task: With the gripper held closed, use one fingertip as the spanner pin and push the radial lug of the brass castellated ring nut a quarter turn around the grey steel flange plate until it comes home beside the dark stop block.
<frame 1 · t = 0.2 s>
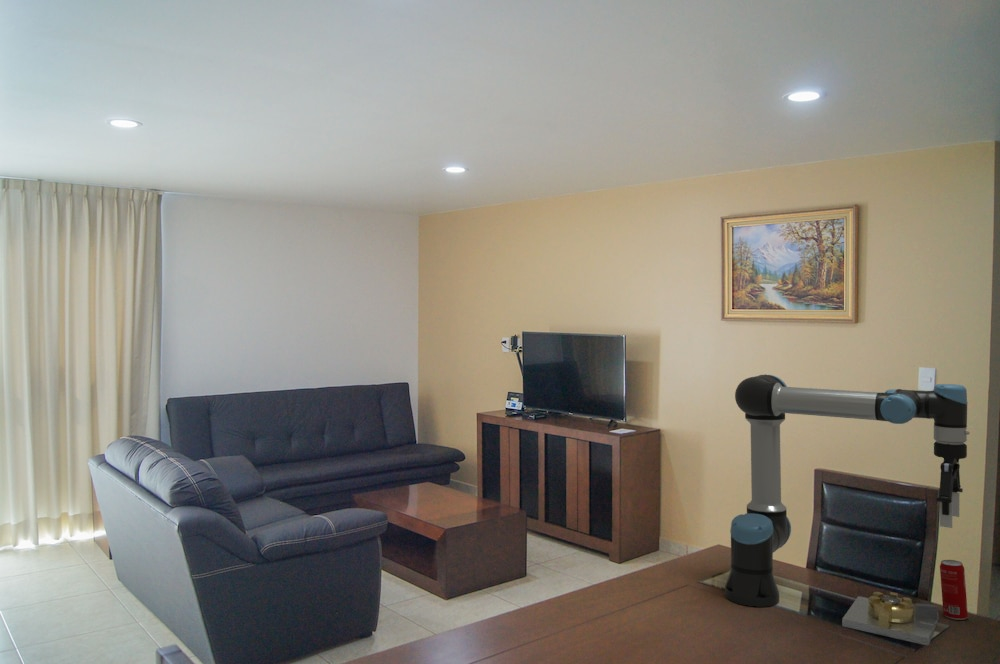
hand: (949, 521, 196), 28 cm above the table, fingers open, 13 cm apart
beverage can: (953, 617, 201), on the table
flange plate: (890, 622, 197), on the table
ring nut: (889, 609, 194), point 4 cm above the table, hinge at 0.0°
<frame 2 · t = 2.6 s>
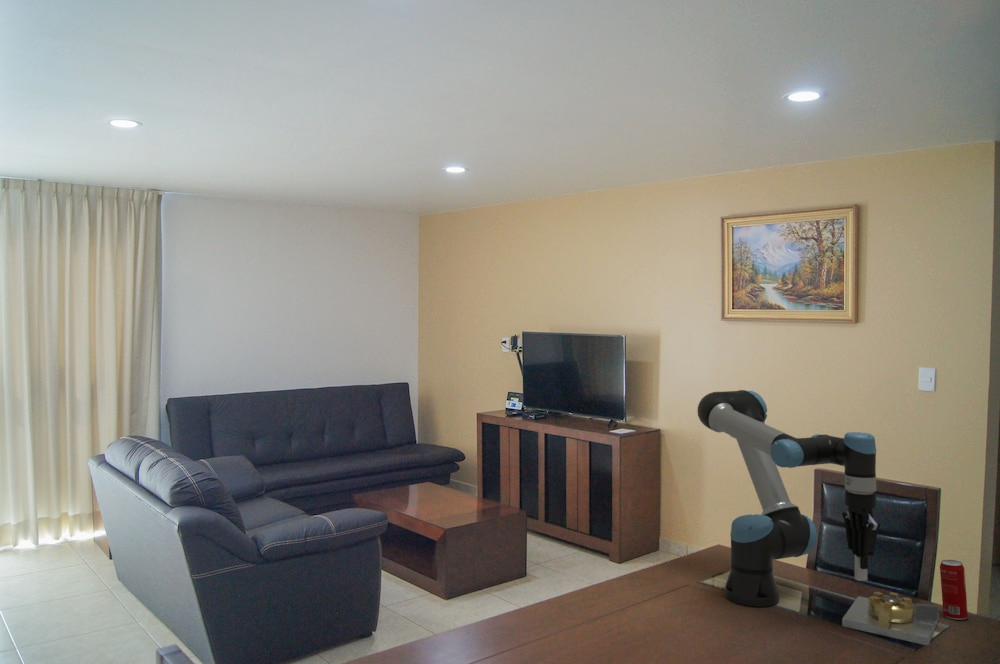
hand: (861, 579, 195), 12 cm above the table, fingers closed
nothing on the table moved.
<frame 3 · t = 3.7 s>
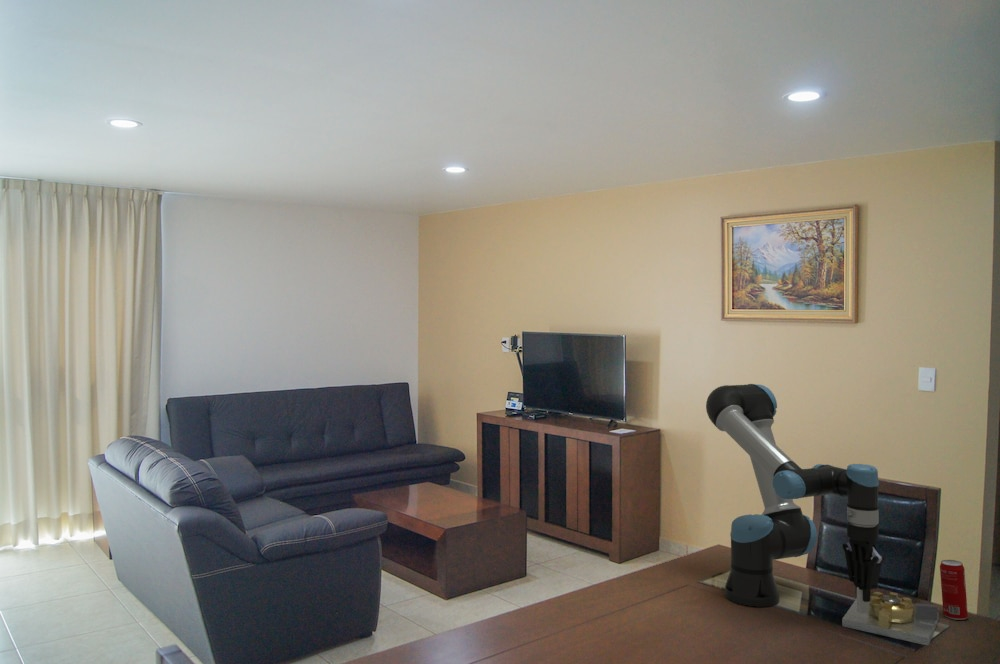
hand: (863, 611, 194), 4 cm above the table, fingers closed
nothing on the table moved.
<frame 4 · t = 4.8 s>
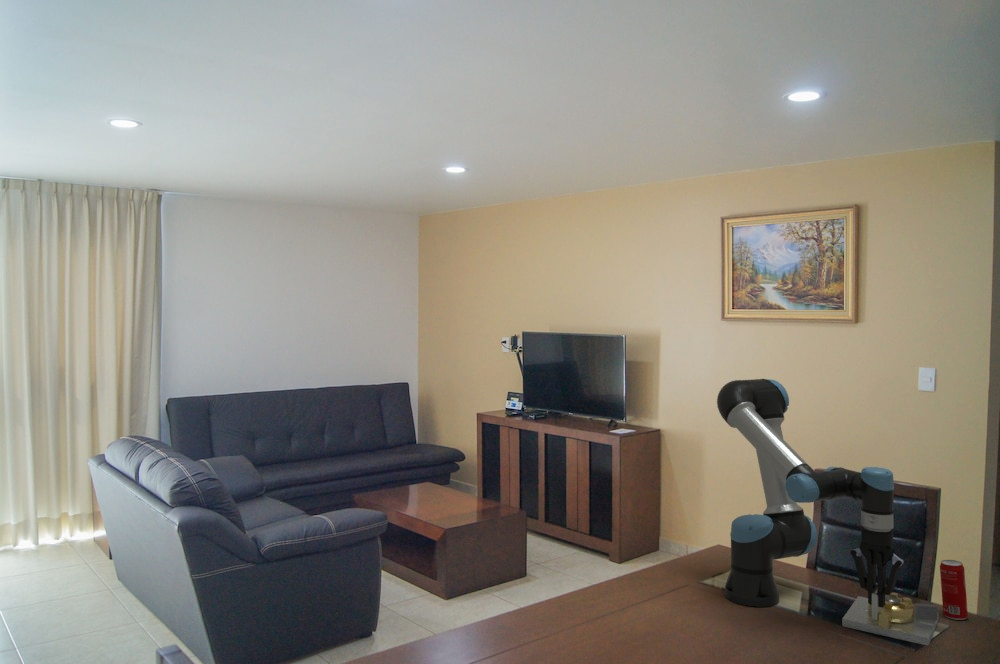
hand: (876, 617, 191), 4 cm above the table, fingers closed
ring nut: (889, 609, 194), point 4 cm above the table, hinge at 0.1°, touching gripper
everything else where it was.
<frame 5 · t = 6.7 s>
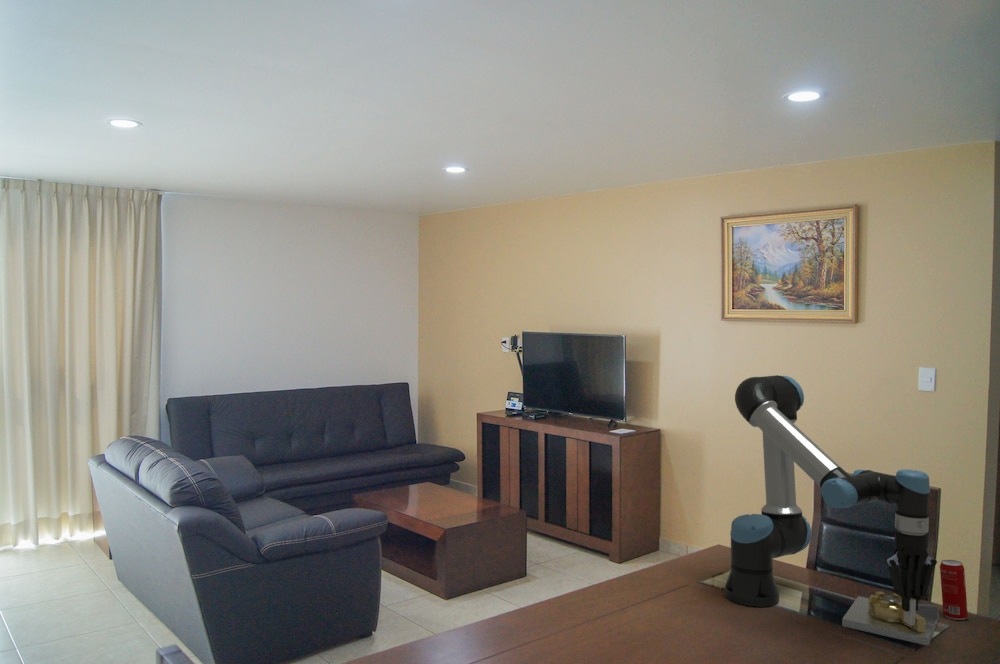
hand: (909, 623, 187), 4 cm above the table, fingers closed
ring nut: (898, 610, 194), point 4 cm above the table, hinge at 47.7°, touching gripper
everything else where it was.
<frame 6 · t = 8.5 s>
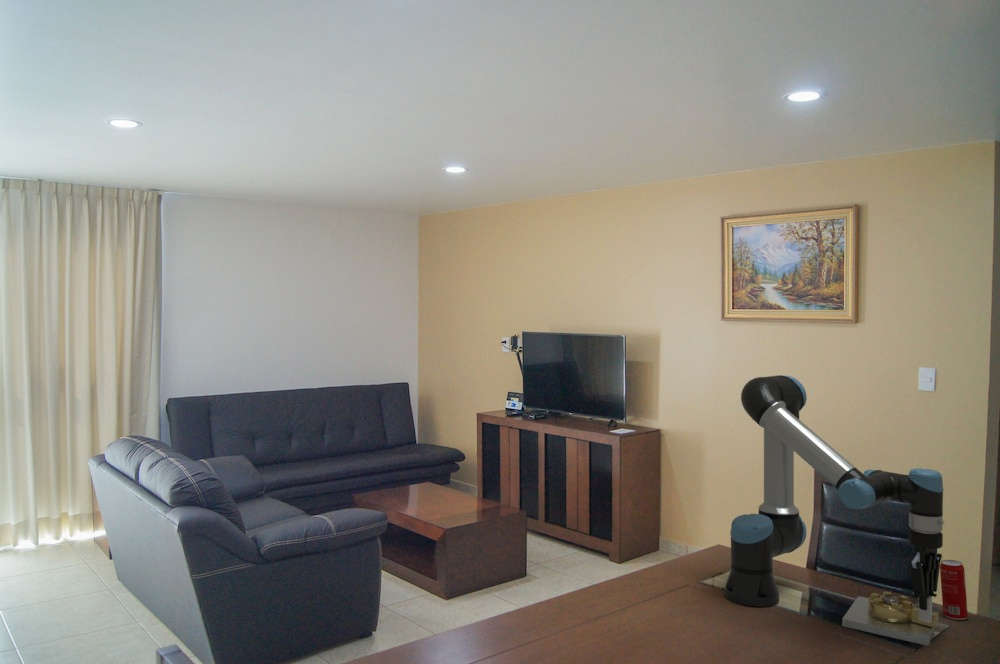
hand: (925, 620, 189), 4 cm above the table, fingers closed
ring nut: (902, 609, 195), point 4 cm above the table, hinge at 81.0°, touching gripper
everything else where it was.
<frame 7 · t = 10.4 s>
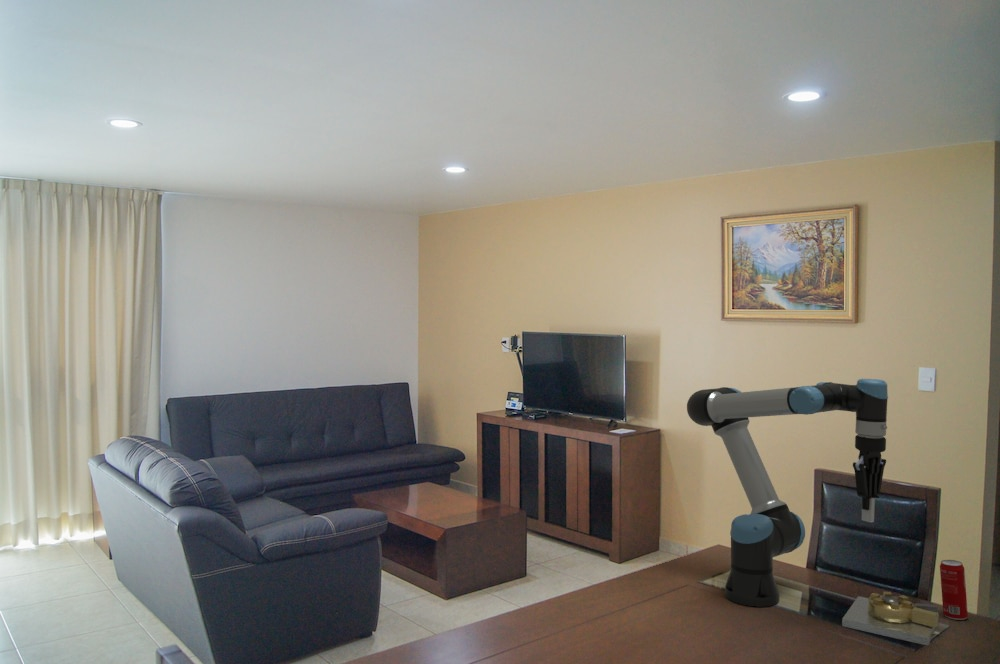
hand: (867, 520, 201), 26 cm above the table, fingers closed
ring nut: (902, 609, 195), point 4 cm above the table, hinge at 81.0°
everything else where it was.
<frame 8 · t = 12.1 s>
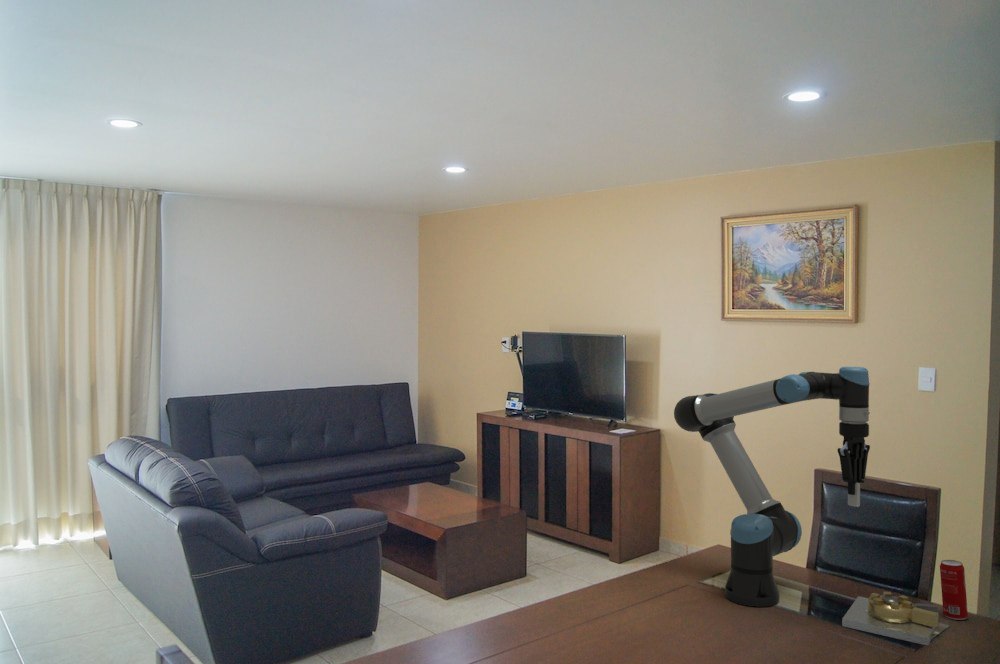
hand: (853, 505, 205), 29 cm above the table, fingers closed
nothing on the table moved.
at the end: ring nut at +81° (first picture: +0°) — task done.
